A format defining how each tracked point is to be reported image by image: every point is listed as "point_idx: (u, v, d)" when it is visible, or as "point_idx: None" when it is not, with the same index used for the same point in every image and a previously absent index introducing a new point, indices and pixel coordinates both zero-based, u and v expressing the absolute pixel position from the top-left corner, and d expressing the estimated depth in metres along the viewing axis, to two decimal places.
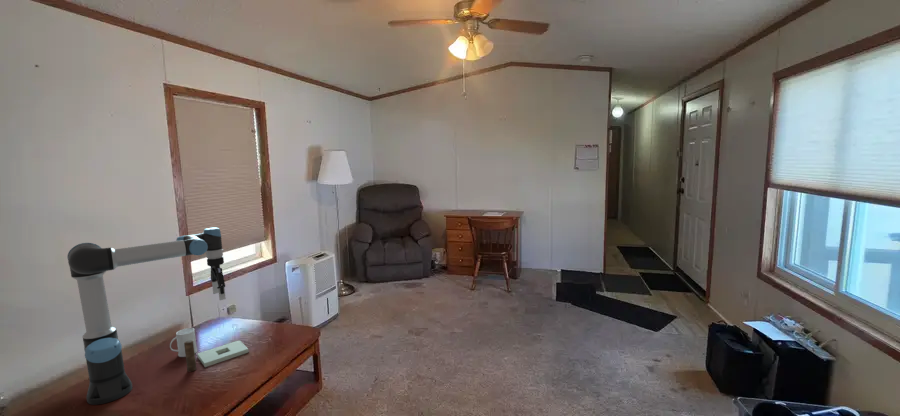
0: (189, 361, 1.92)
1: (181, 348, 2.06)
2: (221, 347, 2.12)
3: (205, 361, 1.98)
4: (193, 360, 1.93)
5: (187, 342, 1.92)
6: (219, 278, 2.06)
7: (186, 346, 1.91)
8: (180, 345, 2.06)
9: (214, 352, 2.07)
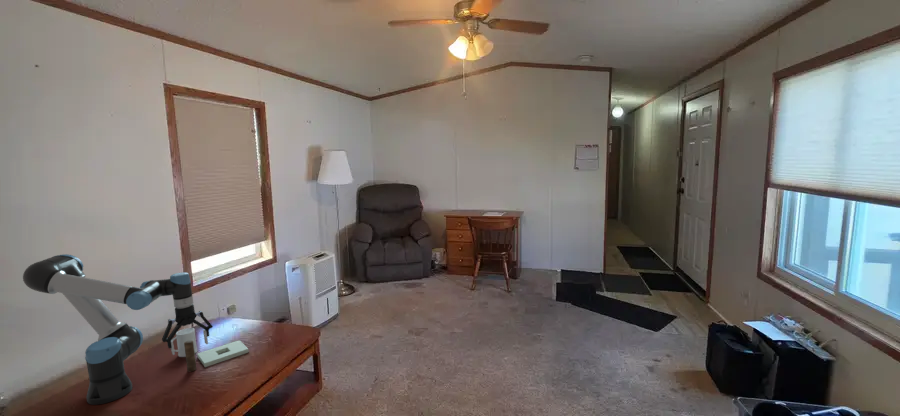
0: (189, 361, 1.92)
1: (181, 348, 2.06)
2: (221, 347, 2.12)
3: (205, 361, 1.98)
4: (193, 360, 1.93)
5: (187, 342, 1.92)
6: (165, 330, 1.86)
7: (186, 346, 1.91)
8: (180, 345, 2.06)
9: (214, 352, 2.07)
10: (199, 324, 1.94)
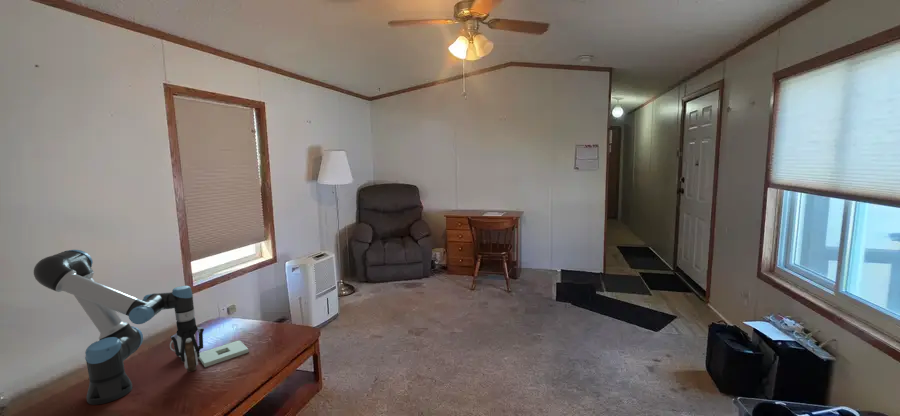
0: (189, 361, 1.92)
1: None
2: (221, 347, 2.12)
3: (205, 361, 1.98)
4: (193, 360, 1.93)
5: (187, 342, 1.92)
6: (174, 346, 1.89)
7: (186, 346, 1.91)
8: (180, 345, 2.06)
9: (214, 352, 2.07)
10: (194, 341, 1.93)
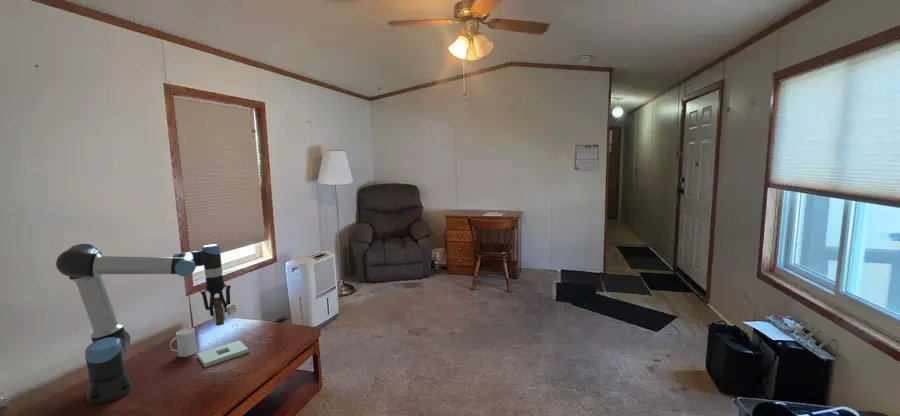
0: (217, 316, 2.03)
1: (181, 348, 2.06)
2: (221, 347, 2.12)
3: (205, 361, 1.98)
4: (221, 315, 2.04)
5: (215, 298, 2.03)
6: (203, 300, 2.00)
7: (215, 301, 2.02)
8: (180, 345, 2.06)
9: (214, 352, 2.07)
10: (222, 297, 2.04)
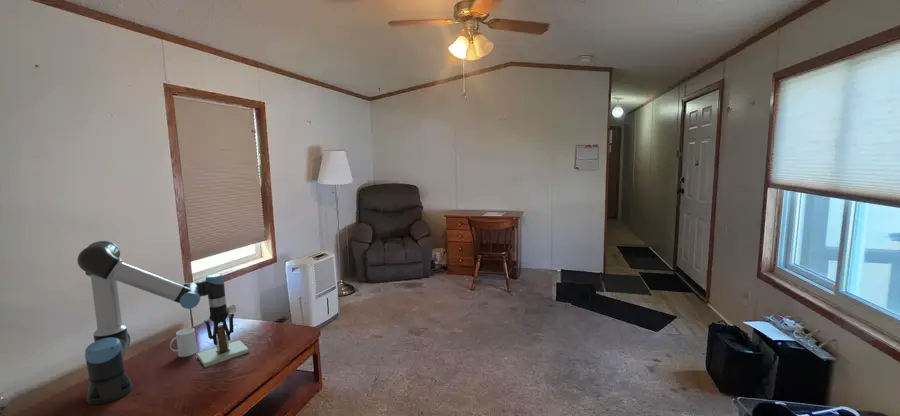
0: (220, 344, 2.05)
1: (181, 348, 2.06)
2: None
3: (205, 361, 1.98)
4: (224, 343, 2.07)
5: (218, 326, 2.05)
6: (207, 329, 2.02)
7: (218, 330, 2.04)
8: (180, 345, 2.06)
9: (214, 352, 2.07)
10: (225, 326, 2.07)
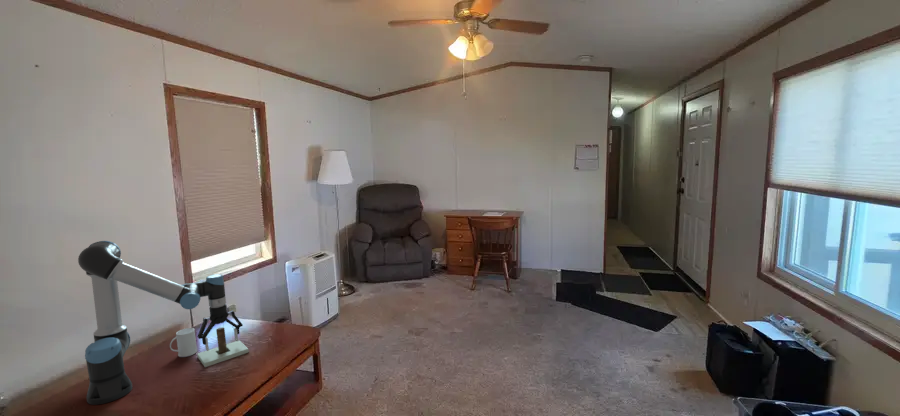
0: (220, 347, 2.05)
1: (181, 348, 2.06)
2: None
3: (205, 361, 1.98)
4: (224, 346, 2.07)
5: (219, 329, 2.06)
6: (201, 328, 2.00)
7: (218, 332, 2.04)
8: (180, 345, 2.06)
9: (214, 352, 2.07)
10: (231, 322, 2.08)
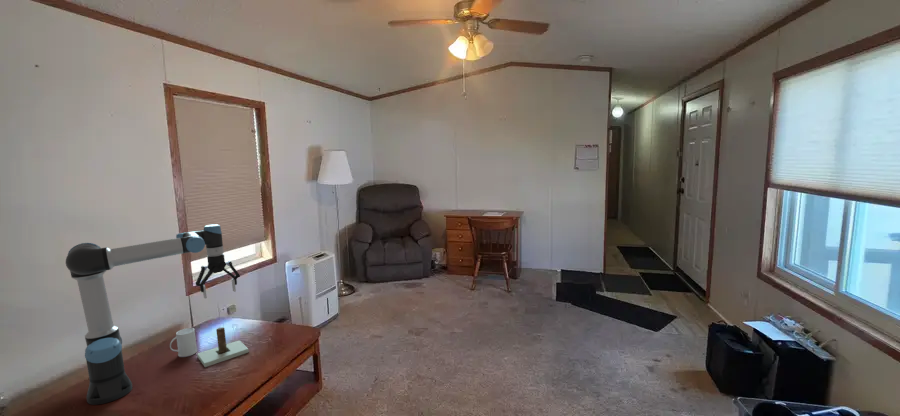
0: (220, 347, 2.05)
1: (181, 348, 2.06)
2: None
3: (205, 361, 1.98)
4: (224, 346, 2.07)
5: (219, 329, 2.06)
6: (199, 275, 2.05)
7: (218, 332, 2.04)
8: (180, 345, 2.06)
9: (214, 352, 2.07)
10: (228, 272, 2.12)
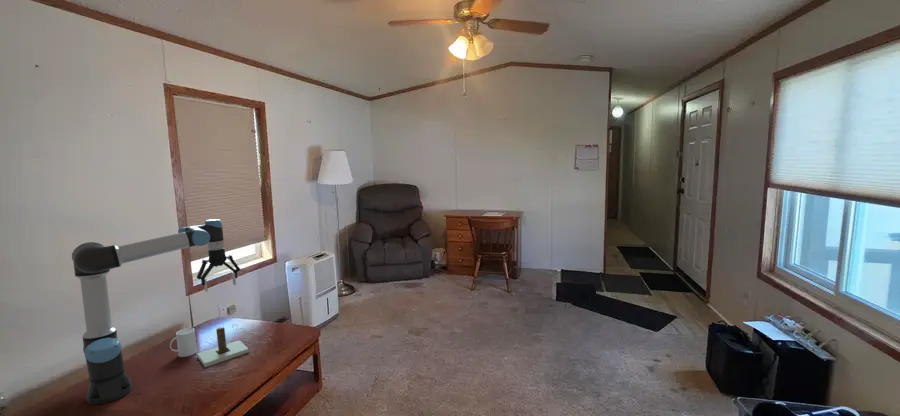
0: (220, 347, 2.05)
1: (181, 348, 2.06)
2: None
3: (205, 361, 1.98)
4: (224, 346, 2.07)
5: (219, 329, 2.06)
6: (200, 269, 2.09)
7: (218, 332, 2.04)
8: (180, 345, 2.06)
9: (214, 352, 2.07)
10: (229, 266, 2.17)
